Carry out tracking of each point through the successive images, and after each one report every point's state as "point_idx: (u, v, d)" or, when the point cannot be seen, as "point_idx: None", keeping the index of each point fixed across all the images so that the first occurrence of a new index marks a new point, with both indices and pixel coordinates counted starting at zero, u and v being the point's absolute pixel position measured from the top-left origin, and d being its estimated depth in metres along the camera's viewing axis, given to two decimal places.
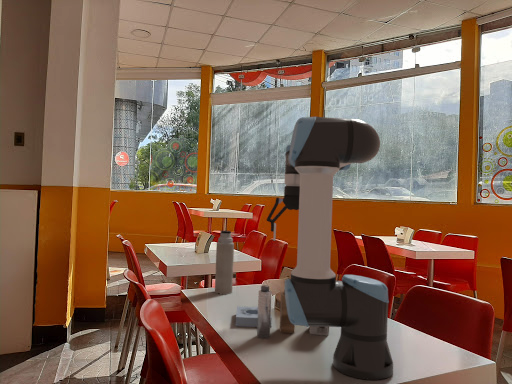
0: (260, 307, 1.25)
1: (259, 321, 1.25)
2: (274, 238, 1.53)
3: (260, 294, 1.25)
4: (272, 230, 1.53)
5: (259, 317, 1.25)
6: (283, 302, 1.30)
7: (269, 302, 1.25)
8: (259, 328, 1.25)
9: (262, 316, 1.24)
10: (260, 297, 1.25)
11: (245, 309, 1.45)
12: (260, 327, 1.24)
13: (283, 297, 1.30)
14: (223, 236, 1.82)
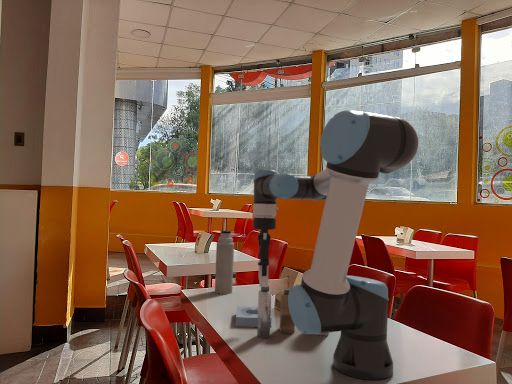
0: (260, 307, 1.25)
1: (259, 321, 1.25)
2: None
3: (260, 294, 1.25)
4: None
5: (259, 317, 1.25)
6: (283, 302, 1.30)
7: (269, 302, 1.25)
8: (259, 328, 1.25)
9: (262, 316, 1.24)
10: (260, 297, 1.25)
11: (245, 309, 1.45)
12: (260, 327, 1.24)
13: (283, 297, 1.30)
14: (223, 236, 1.82)
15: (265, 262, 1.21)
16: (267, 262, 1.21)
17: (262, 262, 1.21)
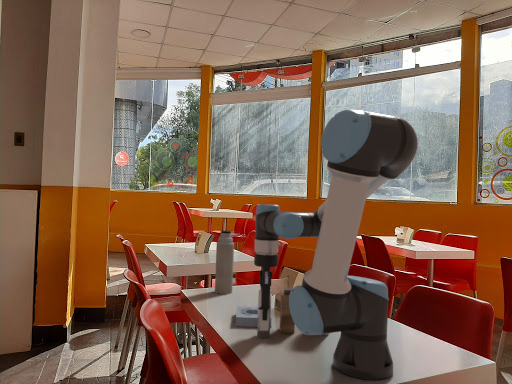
0: None
1: (259, 321, 1.25)
2: None
3: (260, 293, 1.25)
4: None
5: (259, 317, 1.25)
6: (283, 302, 1.30)
7: None
8: (259, 328, 1.25)
9: None
10: (260, 297, 1.25)
11: (245, 309, 1.45)
12: None
13: (283, 297, 1.30)
14: (223, 236, 1.82)
15: (266, 308, 1.21)
16: (268, 308, 1.21)
17: (263, 308, 1.21)
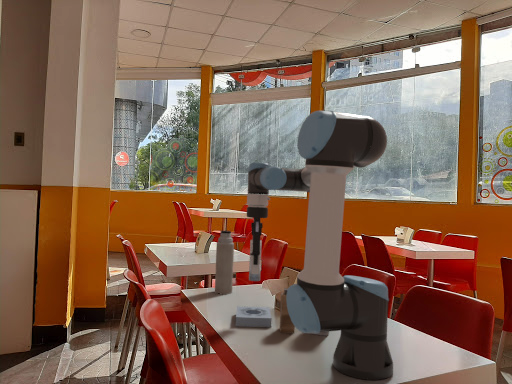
0: None
1: None
2: None
3: (251, 242, 1.41)
4: None
5: (251, 263, 1.41)
6: (283, 302, 1.30)
7: None
8: None
9: None
10: (251, 245, 1.41)
11: (245, 309, 1.45)
12: None
13: (283, 297, 1.30)
14: (223, 236, 1.82)
15: (256, 253, 1.37)
16: (258, 253, 1.37)
17: (254, 253, 1.37)
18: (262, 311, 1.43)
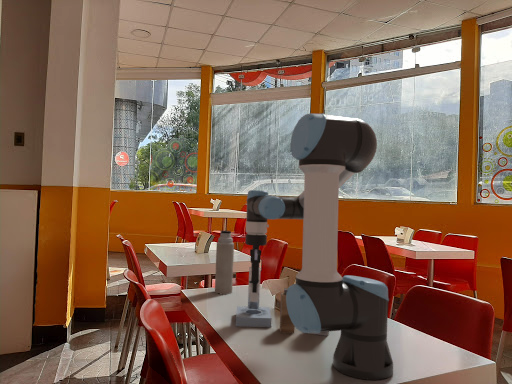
0: None
1: (249, 294, 1.41)
2: None
3: (250, 270, 1.41)
4: None
5: (249, 290, 1.41)
6: (283, 302, 1.30)
7: None
8: (249, 300, 1.41)
9: None
10: (250, 273, 1.41)
11: (245, 309, 1.45)
12: None
13: (283, 297, 1.30)
14: (223, 236, 1.82)
15: (255, 281, 1.37)
16: (257, 281, 1.37)
17: (253, 281, 1.37)
18: (262, 311, 1.43)
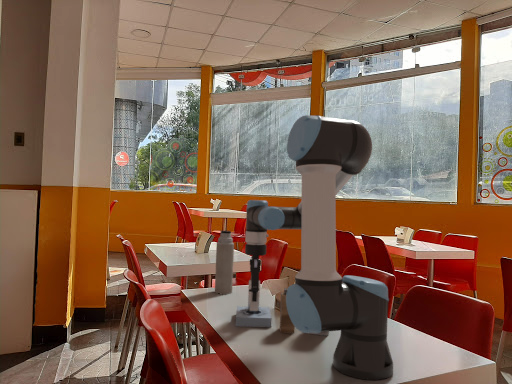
0: None
1: (249, 307, 1.41)
2: None
3: (250, 283, 1.41)
4: None
5: (249, 303, 1.41)
6: (283, 302, 1.30)
7: None
8: (249, 313, 1.41)
9: None
10: (250, 286, 1.41)
11: (245, 309, 1.45)
12: (250, 312, 1.40)
13: (283, 297, 1.30)
14: (223, 236, 1.82)
15: (255, 290, 1.34)
16: (257, 290, 1.34)
17: (252, 289, 1.34)
18: (262, 311, 1.43)
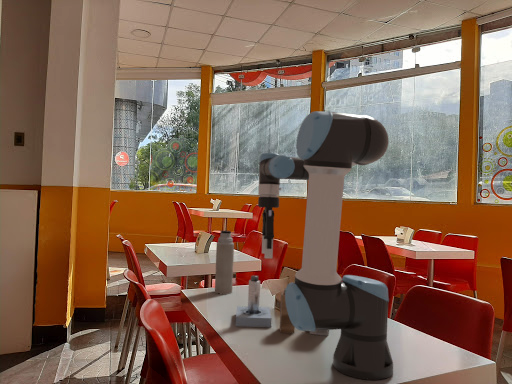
0: (250, 295, 1.41)
1: (249, 307, 1.41)
2: (262, 251, 1.50)
3: (250, 283, 1.41)
4: None
5: (249, 303, 1.41)
6: (283, 302, 1.30)
7: (258, 290, 1.41)
8: (249, 313, 1.41)
9: (252, 303, 1.40)
10: (250, 286, 1.41)
11: (245, 309, 1.45)
12: (250, 312, 1.40)
13: (283, 297, 1.30)
14: (223, 236, 1.82)
15: (270, 236, 1.34)
16: (272, 236, 1.34)
17: (268, 236, 1.34)
18: (262, 311, 1.43)
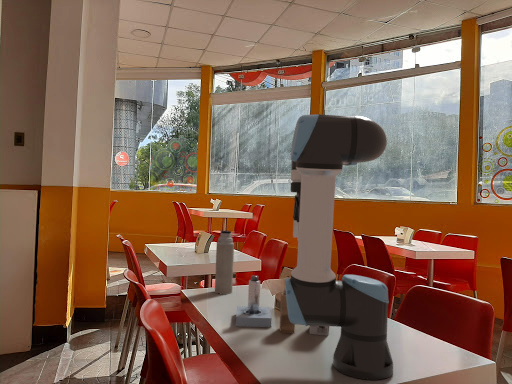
0: (250, 295, 1.41)
1: (249, 307, 1.41)
2: (293, 235, 1.56)
3: (250, 283, 1.41)
4: None
5: (249, 303, 1.41)
6: (283, 302, 1.30)
7: (258, 290, 1.41)
8: (249, 313, 1.41)
9: (252, 302, 1.40)
10: (250, 286, 1.41)
11: (245, 309, 1.45)
12: (250, 312, 1.40)
13: (283, 297, 1.30)
14: (223, 236, 1.82)
15: None
16: None
17: None
18: (262, 311, 1.43)
